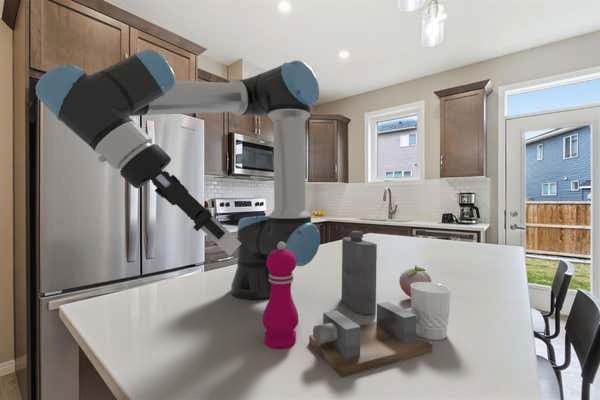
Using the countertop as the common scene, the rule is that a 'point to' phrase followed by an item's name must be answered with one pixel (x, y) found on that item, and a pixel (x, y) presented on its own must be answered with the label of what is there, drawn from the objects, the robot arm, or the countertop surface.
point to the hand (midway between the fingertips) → (228, 243)
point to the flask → (359, 273)
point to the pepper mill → (280, 300)
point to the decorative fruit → (412, 278)
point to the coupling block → (368, 339)
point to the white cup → (431, 309)
